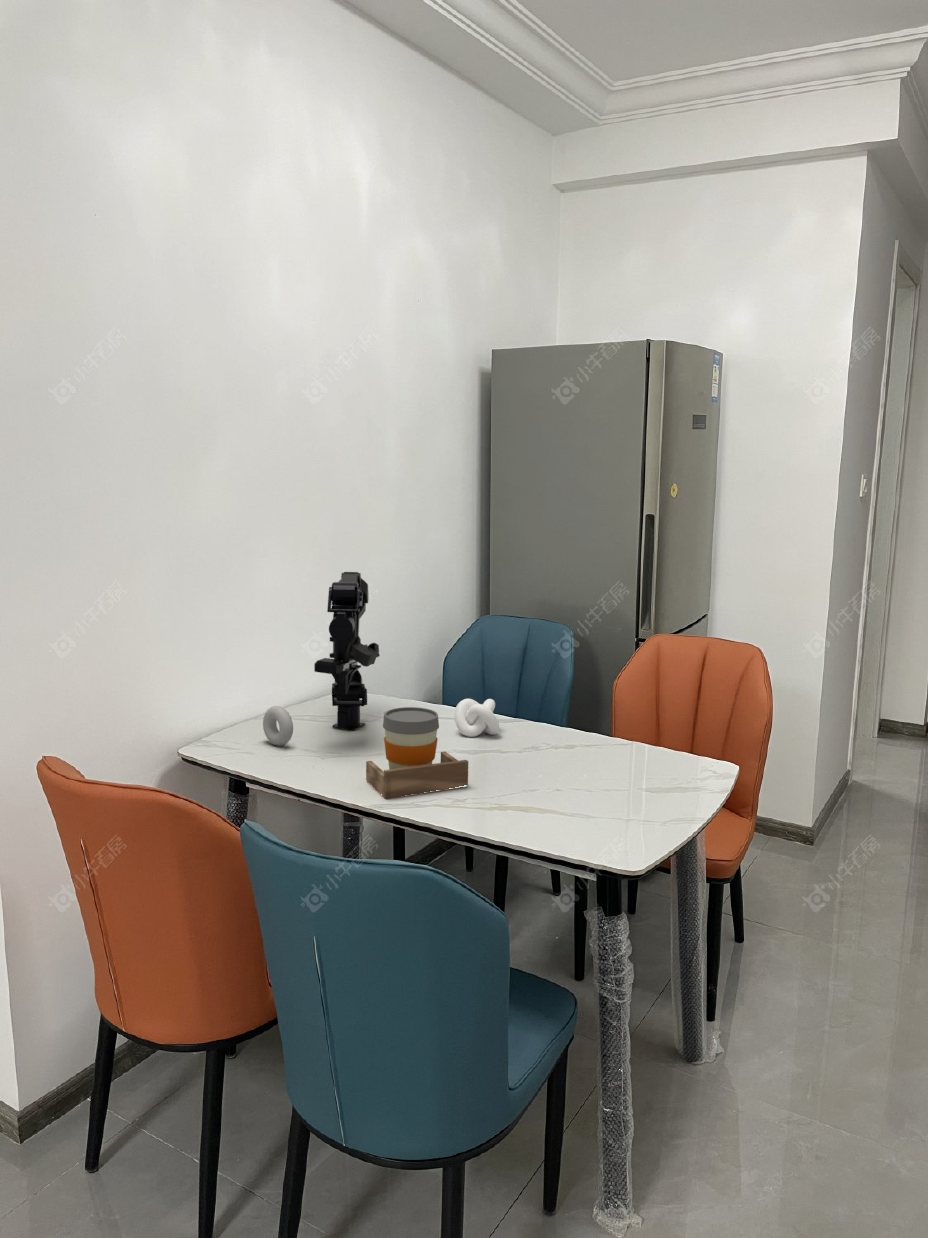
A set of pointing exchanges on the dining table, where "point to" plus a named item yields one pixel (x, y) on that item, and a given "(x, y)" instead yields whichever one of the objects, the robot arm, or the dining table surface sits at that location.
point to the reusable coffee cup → (410, 736)
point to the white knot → (476, 717)
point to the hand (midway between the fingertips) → (344, 694)
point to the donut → (284, 722)
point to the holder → (418, 777)
